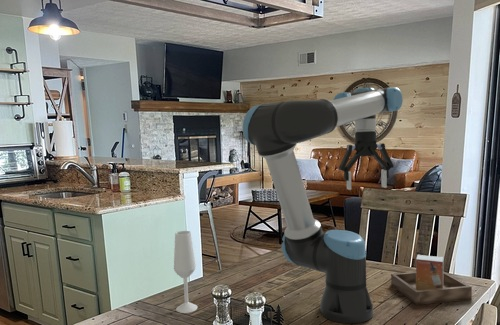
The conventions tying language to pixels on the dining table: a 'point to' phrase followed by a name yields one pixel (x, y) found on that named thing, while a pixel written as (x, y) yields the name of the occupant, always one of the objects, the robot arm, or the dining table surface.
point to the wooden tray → (448, 293)
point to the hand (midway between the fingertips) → (366, 188)
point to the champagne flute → (184, 265)
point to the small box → (429, 272)
